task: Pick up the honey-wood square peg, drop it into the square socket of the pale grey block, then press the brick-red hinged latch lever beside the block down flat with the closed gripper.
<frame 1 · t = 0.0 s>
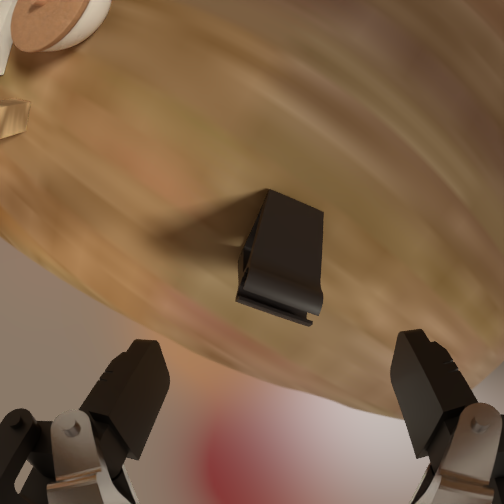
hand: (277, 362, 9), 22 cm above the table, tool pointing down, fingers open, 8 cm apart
phone stand: (279, 235, 32), on the table
lidded jar: (88, 13, 20), on the table
peg: (19, 114, 26), on the table
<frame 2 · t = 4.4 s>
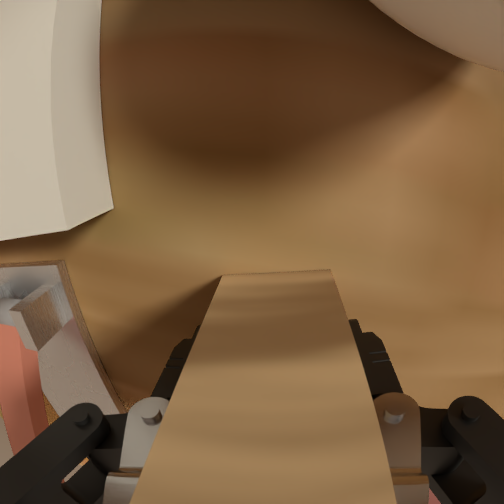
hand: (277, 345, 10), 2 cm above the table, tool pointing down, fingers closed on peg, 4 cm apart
peg: (279, 318, 12), on the table, touching gripper
lever bracket: (33, 296, 13), on the table
latch lever: (21, 408, 10), point 5 cm above the table, hinge at 30.0°
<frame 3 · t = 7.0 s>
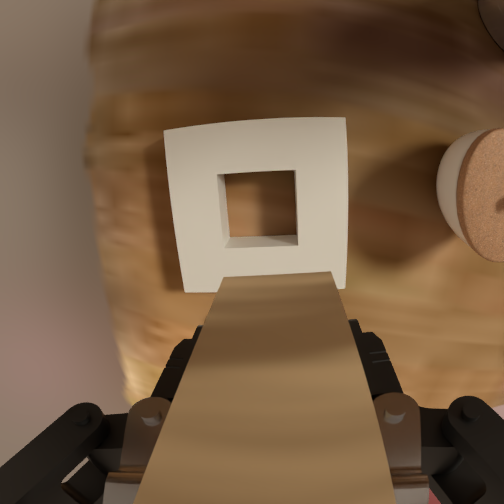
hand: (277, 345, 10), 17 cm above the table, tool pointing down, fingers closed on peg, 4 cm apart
socket block: (260, 202, 26), on the table
lidded jar: (461, 181, 23), on the table
peg: (279, 320, 12), point 16 cm above the table, touching gripper
when the fingers open (6 cm above the table, at t = 9.7 s): peg drops 4 cm, resting in socket block.
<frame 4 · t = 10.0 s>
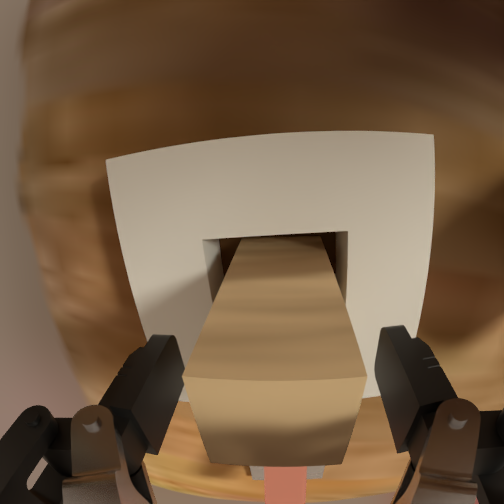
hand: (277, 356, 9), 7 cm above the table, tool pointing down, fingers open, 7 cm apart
socket block: (279, 272, 16), on the table
peg: (282, 272, 16), resting in socket block
lever bracket: (286, 408, 19), on the table
latch lever: (285, 483, 17), point 5 cm above the table, hinge at 30.0°
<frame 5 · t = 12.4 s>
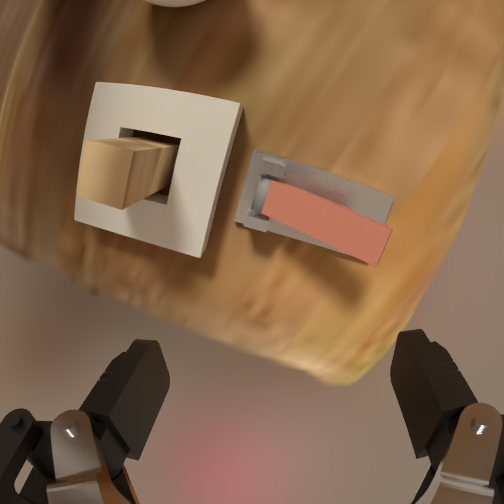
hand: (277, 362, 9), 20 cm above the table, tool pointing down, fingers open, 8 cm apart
socket block: (155, 162, 27), on the table
peg: (155, 160, 27), resting in socket block
lever bracket: (265, 190, 27), on the table
latch lever: (317, 216, 23), point 5 cm above the table, hinge at 30.0°
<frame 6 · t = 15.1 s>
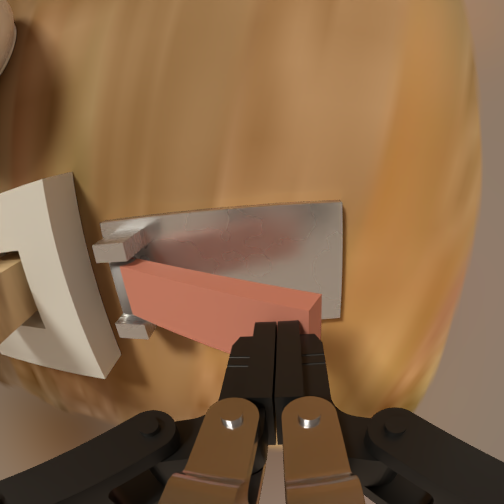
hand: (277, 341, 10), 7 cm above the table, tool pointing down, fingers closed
socket block: (32, 275, 19), on the table
peg: (32, 273, 19), resting in socket block
lever bracket: (142, 271, 18), on the table
latch lever: (192, 305, 13), point 4 cm above the table, hinge at 27.6°, touching gripper
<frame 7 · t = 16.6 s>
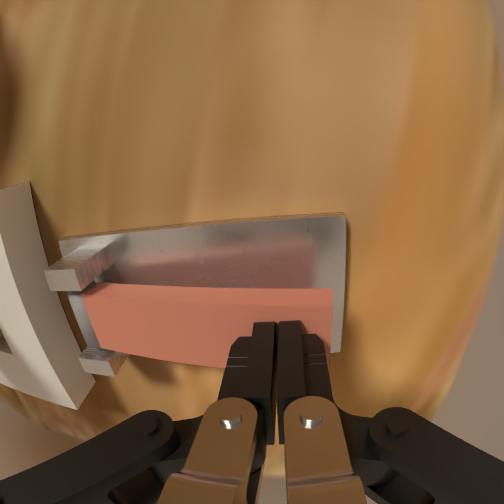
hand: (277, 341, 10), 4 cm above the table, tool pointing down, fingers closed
socket block: (0, 293, 16), on the table
lever bracket: (108, 295, 15), on the table
latch lever: (179, 326, 12), point 3 cm above the table, hinge at 8.2°, touching gripper
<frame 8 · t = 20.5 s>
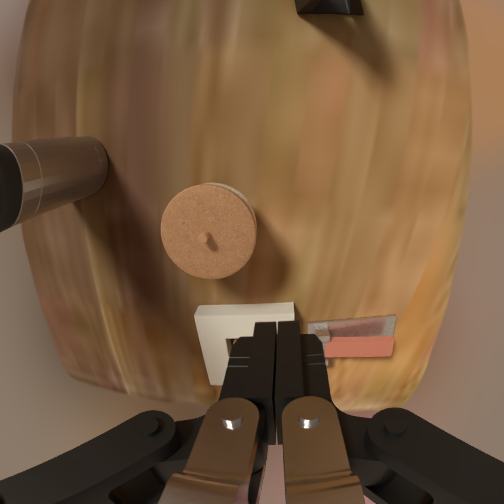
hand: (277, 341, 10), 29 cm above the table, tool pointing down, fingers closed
socket block: (249, 342, 45), on the table
lidded jar: (220, 217, 39), on the table
lever bracket: (320, 339, 44), on the table
latch lever: (354, 347, 41), point 3 cm above the table, hinge at 8.2°
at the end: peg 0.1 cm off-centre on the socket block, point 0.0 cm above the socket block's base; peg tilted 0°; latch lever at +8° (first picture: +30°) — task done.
